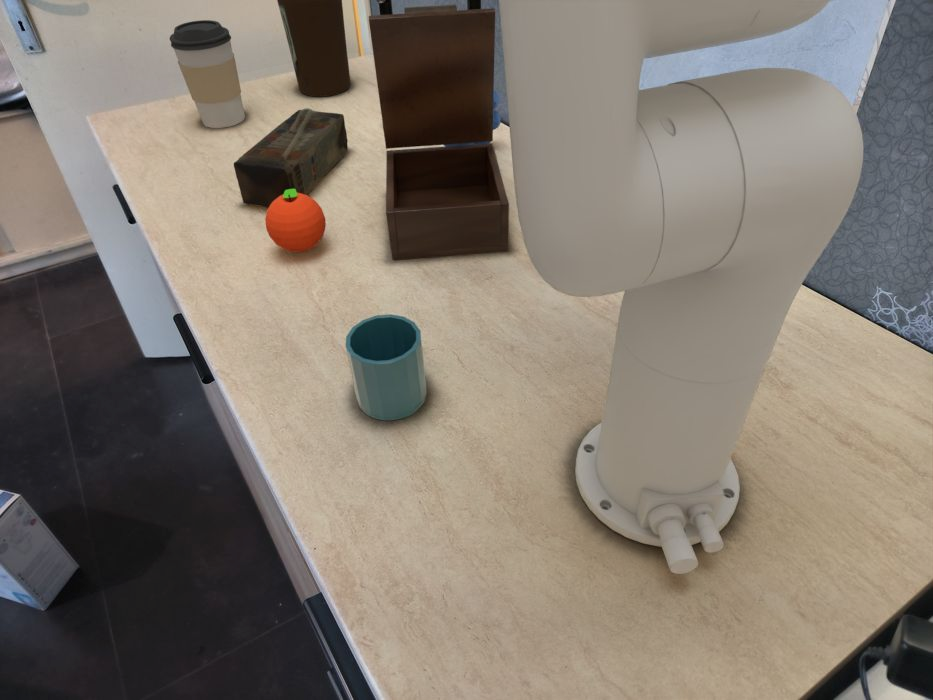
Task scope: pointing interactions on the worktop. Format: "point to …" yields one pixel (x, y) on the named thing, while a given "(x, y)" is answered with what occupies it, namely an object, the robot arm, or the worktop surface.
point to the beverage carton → (292, 156)
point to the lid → (435, 75)
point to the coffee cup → (209, 71)
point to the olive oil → (317, 45)
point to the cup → (387, 366)
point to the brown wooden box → (445, 202)
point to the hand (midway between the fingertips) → (431, 34)
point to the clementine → (295, 221)
